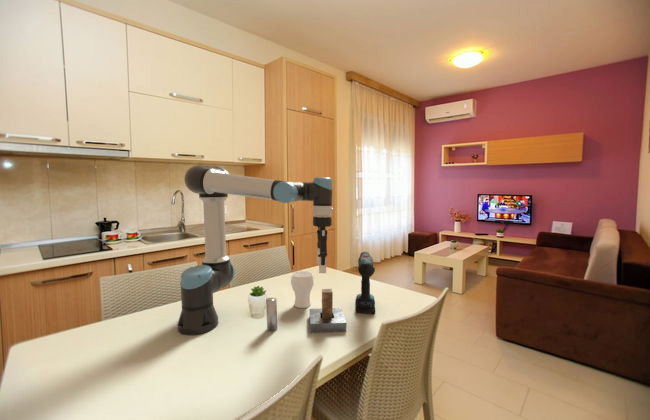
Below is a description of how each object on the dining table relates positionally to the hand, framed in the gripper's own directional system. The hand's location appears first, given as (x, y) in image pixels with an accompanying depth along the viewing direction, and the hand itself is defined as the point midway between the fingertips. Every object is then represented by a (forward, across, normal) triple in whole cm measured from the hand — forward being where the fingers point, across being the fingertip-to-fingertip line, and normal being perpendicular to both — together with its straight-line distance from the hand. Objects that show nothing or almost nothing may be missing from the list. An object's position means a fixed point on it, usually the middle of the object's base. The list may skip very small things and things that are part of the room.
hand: (321, 268), depth 121 cm
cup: (+24, +19, +7) cm, 31 cm away
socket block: (+23, -1, -3) cm, 23 cm away
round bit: (+23, -4, +19) cm, 31 cm away
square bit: (+23, -1, -3) cm, 23 cm away
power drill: (+23, +14, -22) cm, 35 cm away
